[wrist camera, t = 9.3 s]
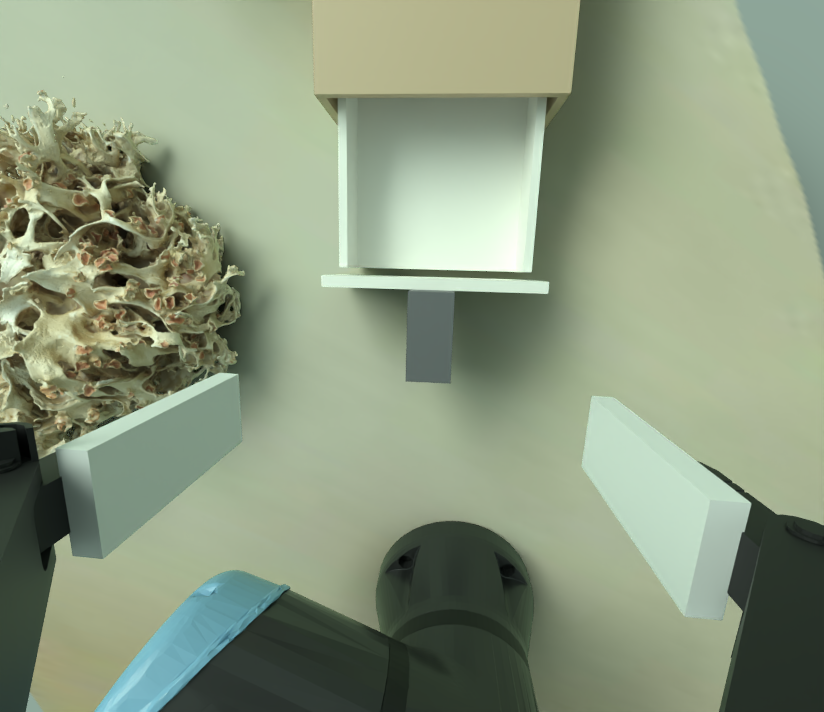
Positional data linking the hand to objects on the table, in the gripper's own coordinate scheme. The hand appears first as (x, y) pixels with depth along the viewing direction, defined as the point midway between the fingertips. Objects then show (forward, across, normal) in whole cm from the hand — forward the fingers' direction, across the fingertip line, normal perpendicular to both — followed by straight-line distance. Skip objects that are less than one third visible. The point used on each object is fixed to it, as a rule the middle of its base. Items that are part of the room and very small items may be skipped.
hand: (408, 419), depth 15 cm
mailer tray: (+20, 0, -11) cm, 23 cm away
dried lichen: (+21, +31, -1) cm, 38 cm away
